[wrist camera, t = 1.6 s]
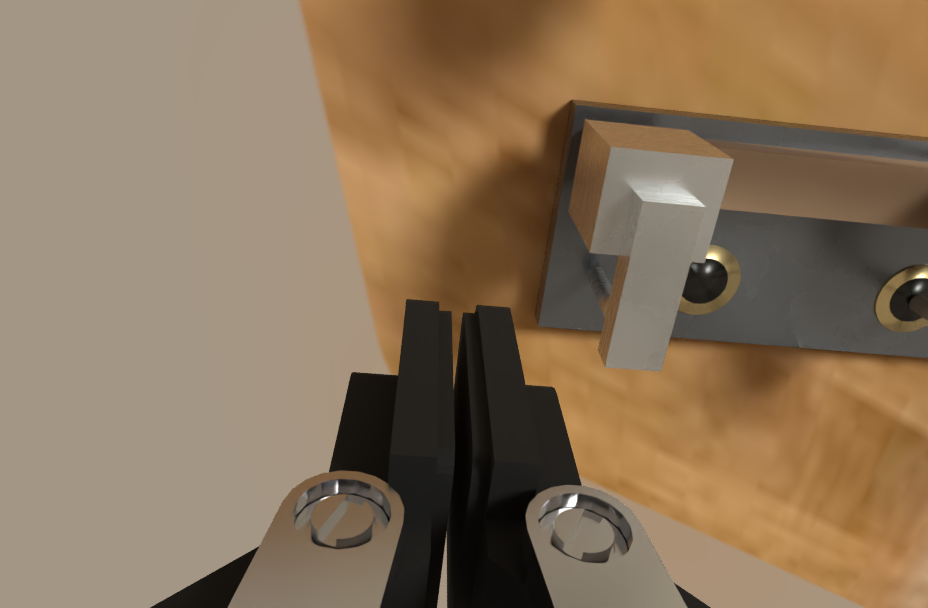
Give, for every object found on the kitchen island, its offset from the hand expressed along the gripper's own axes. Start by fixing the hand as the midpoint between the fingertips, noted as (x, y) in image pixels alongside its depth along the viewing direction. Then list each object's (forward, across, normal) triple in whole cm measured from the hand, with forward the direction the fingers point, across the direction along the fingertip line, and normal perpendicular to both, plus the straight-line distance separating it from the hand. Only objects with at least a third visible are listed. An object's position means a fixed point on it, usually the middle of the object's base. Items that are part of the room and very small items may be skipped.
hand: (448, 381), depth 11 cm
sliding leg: (+17, -7, +2) cm, 19 cm away
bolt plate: (+19, -16, +3) cm, 25 cm away
